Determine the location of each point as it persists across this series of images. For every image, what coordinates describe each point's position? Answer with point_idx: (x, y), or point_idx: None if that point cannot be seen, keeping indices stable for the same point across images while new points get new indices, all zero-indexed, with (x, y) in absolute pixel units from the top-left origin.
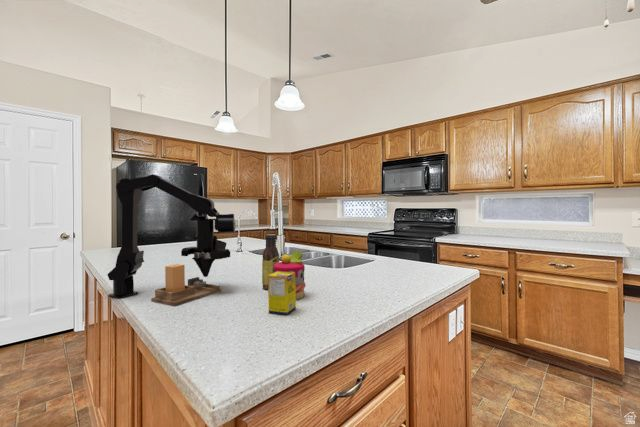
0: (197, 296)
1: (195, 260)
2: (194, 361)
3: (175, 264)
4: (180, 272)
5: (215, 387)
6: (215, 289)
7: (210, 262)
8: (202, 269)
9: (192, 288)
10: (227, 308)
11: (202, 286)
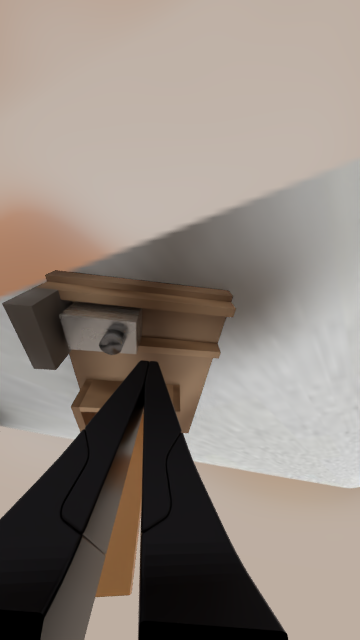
0: (201, 390)
1: (29, 637)
2: (322, 478)
3: None
4: (138, 525)
5: (350, 485)
6: (216, 320)
7: (196, 543)
8: (132, 447)
9: (178, 414)
10: (322, 404)
11: (139, 331)
